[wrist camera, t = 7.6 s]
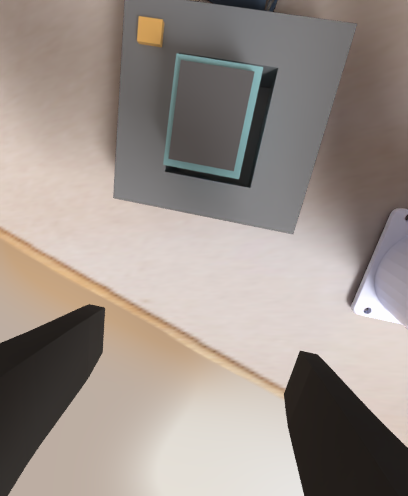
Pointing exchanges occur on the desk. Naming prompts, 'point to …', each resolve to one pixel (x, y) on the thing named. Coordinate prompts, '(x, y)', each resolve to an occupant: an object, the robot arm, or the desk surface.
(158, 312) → the desk surface
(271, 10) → the vaping device
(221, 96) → the plug
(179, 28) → the socket
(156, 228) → the desk surface
